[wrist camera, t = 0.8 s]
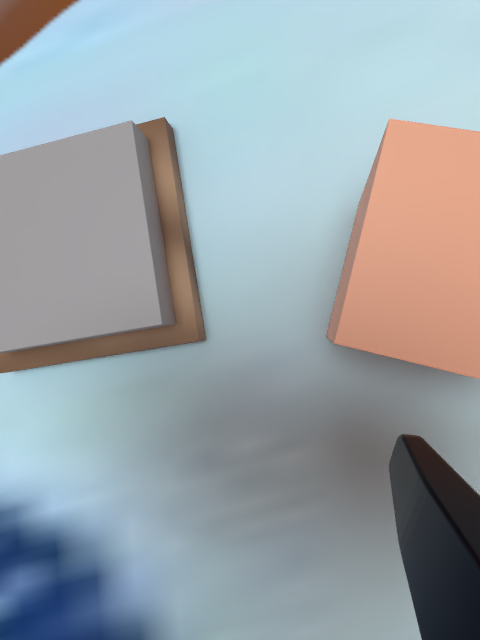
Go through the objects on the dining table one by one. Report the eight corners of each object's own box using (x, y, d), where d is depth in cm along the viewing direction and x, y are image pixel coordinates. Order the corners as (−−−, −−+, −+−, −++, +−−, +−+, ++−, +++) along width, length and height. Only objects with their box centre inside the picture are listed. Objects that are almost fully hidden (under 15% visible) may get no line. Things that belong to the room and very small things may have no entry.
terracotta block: (467, 371, 20) (586, 405, 11) (326, 336, 22) (334, 343, 13) (503, 231, 20) (651, 156, 11) (358, 205, 21) (389, 118, 12)
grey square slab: (176, 324, 22) (162, 324, 20) (9, 352, 23) (-20, 355, 21) (148, 139, 22) (131, 120, 20) (-14, 180, 24) (-44, 167, 22)
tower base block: (209, 339, 23) (199, 340, 21) (22, 370, 25) (-3, 373, 23) (176, 134, 24) (164, 117, 22) (-4, 180, 26) (-31, 168, 24)
